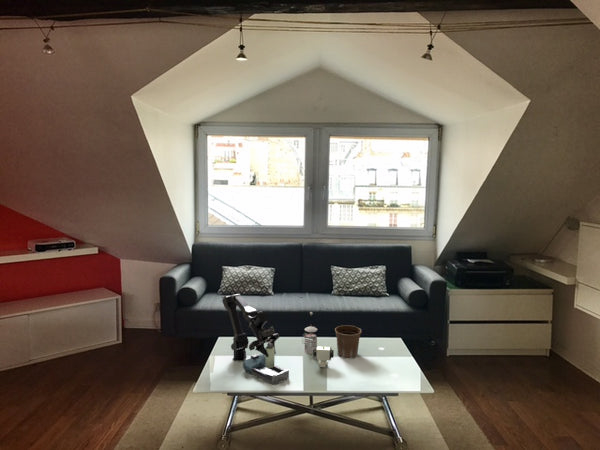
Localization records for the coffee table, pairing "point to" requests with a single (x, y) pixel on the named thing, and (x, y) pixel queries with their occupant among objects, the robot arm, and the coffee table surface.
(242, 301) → the robot arm
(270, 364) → the pale green bottle
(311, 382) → the coffee table surface
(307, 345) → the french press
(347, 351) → the plant pot
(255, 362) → the grey tray with cylinder
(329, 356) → the pneumatic valve
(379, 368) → the coffee table surface
